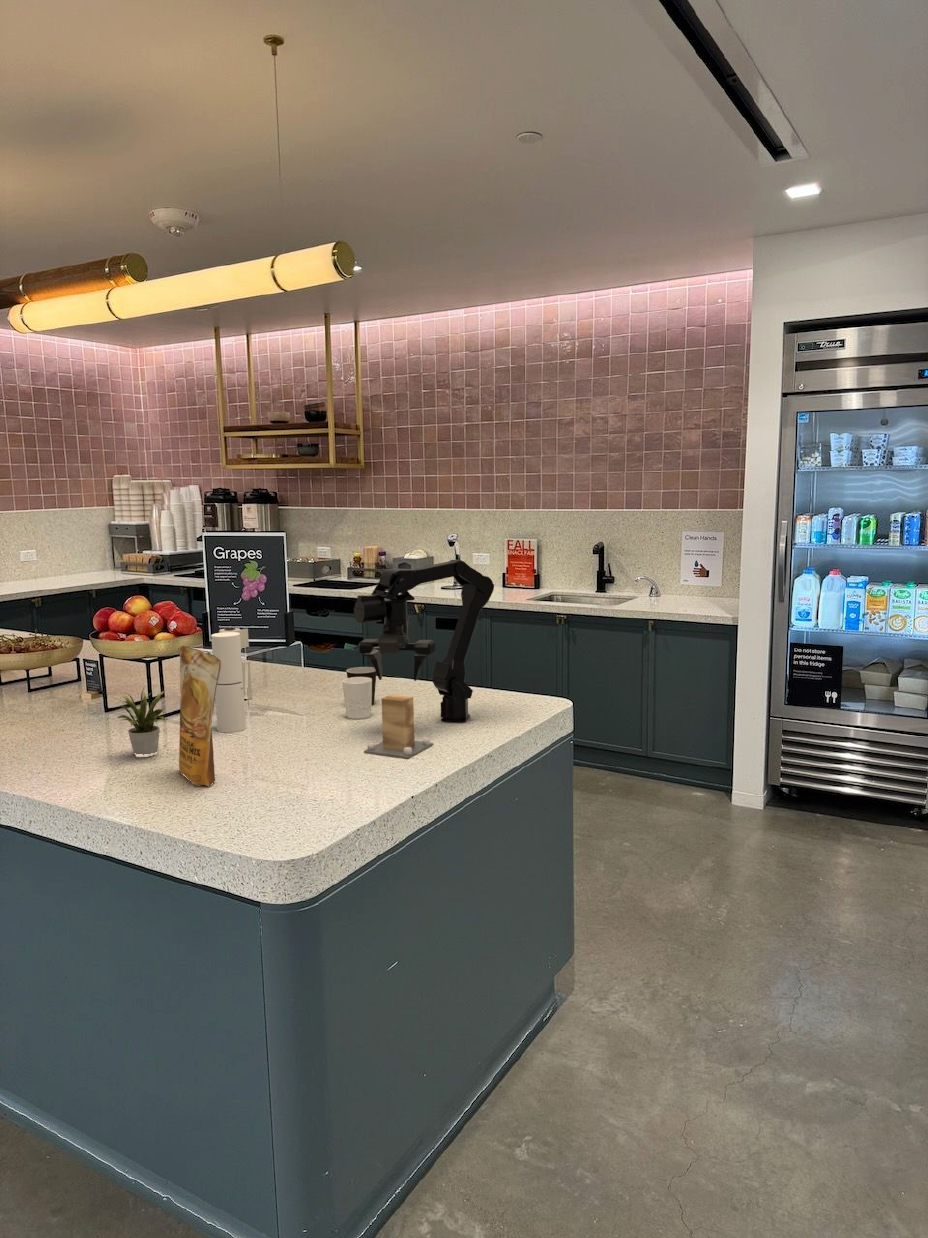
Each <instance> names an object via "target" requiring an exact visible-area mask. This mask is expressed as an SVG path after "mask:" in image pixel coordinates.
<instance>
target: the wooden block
mask: <svg viewBox="0 0 928 1238" xmlns="http://www.w3.org/2000/svg"><path fill="white" fill-rule="evenodd" d="M414 706H415V705H414V696H412V695H410V696H409V695H402V694H401V695H400V694H394V693H393V694H392V693H391V694H388V695H387V696H384V697H382V698H381V721H382V723H381V724H382V725H381V726H382V742H383V748H387V749H395V750H402V751H404V748H405V747H411V748H412V747H413V746H415V741H416V740H415V738H416V737H415V710H414V708H415V707H414Z"/></svg>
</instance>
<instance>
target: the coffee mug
mask: <svg viewBox="0 0 928 1238" xmlns="http://www.w3.org/2000/svg"><path fill="white" fill-rule="evenodd" d="M345 672H346V677H347V678H352V677H368V678H371V679H372V706H374V705H375V699H376V698H375V697H376V687H377V686H376V685H377V684H376V683H377V673H376V671H375V668H374V666H373V667H371V666H359V667H350V668H347V669H346V671H345ZM347 678H346V679H347Z"/></svg>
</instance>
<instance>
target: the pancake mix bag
mask: <svg viewBox="0 0 928 1238" xmlns="http://www.w3.org/2000/svg"><path fill="white" fill-rule="evenodd" d="M178 652H179V670H180V673H179V675H180V677H179V678H180V679H179V680H180V682H179V683H180V684H179V685H180V687H179V688H180V701H179V703H180V705H179V708H180V709H179V711H180V712H179V747H178V748H179V749H178V750H179V751H178V752H179V754H178V769H179V771H180V772H181V773H182V774H184V775H185V776H186V777H187V778H188V779H189V780H191V781H192V782H193V783H194V784H196V785H206V786H205V787H207V786H208V788H209V786H210V785H211V784H212V783H214V781H215V782H216V776H215V761H214V759H215V758H214V757H215V756H214V743H213V732H212V731H213V730H212V722H213V714H214V709H215V702H216V699H215V693H216V687H217V683H218V678H219V673H220V669H221V661H220V660H219V659H218V658H217V657H216V656H214V655H213V653H212V654H211V653H207V652H205V651H202V650H200V649H197V648H193V647H190V646H185V645H181V646H179V647H178ZM181 773H180V774H181ZM189 780H188V781H189ZM194 784H193V785H194ZM214 784H215V783H214ZM211 786H212V785H211ZM211 786H210V787H211Z"/></svg>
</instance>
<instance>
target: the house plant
mask: <svg viewBox="0 0 928 1238" xmlns="http://www.w3.org/2000/svg"><path fill="white" fill-rule="evenodd" d="M144 690H145V687H143V688H142V691H141V692H140V693H141V694H140V707H139V708H137V706H136V703H135V701H134V699H133V697H132V696H131V694H129V693H127V692H125V694H126V695H125V694H122V696H121V697H122V698H123V699H124V701H122V700H120V699H119V698H117V697H114V696H112V698H113V699H117V700H119V702H120V703H122V704H123V705H120V707H121V708H122V709H123V708H124V709H125V711H127V713H128V714H129V716H130V717H129V716H127V715H126V714H119V715H118V716H117V718H116V719H120V720H119V721H128V722H129V723H130V727H131V728H129V729H128V731H127V732H128V736H129V740H130V744H131V749H132V752H133V754H134V753H136V754H143V755H144V754H151V753H155V752H157V751H159V740H160V739H159V738H160V727H159V726H157V725H154V724H155V723H156V724H158V719H161V720H163V721H164V722H166V718H165V716H163V715H161V714H162V713H163V712H164V710H165V708H161V709H160V708H158V709H156V710H154V709H155V706H157V703H159V701H160V700H161V697H162V695H163V694H164V693H165V692H166V691H167V690H163V691H161V692H160V693H158V695H156V696H155V698H154V699H153V701H152V702H151V703H150V701H149V702H148V700H147V699H148V697H149V696H150V695H151V694H152V693H153V691H152V692H150V693H149V694H148V695H147V694H146V693H145V692H144ZM127 695H128V696H129V697H128V696H127ZM146 695H147V696H146ZM129 698H130V699H129ZM163 698H167V696H164V697H162V699H163ZM148 703H150V705H149V707H148V710H147V706H148ZM126 704H127V705H128V706H129V707H130V708H131V709H132V710H131V709H130V708H129V707H128V706H127V705H126ZM153 710H154V711H153ZM132 711H133V712H132ZM121 718H122V719H121ZM132 726H133V727H132Z"/></svg>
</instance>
